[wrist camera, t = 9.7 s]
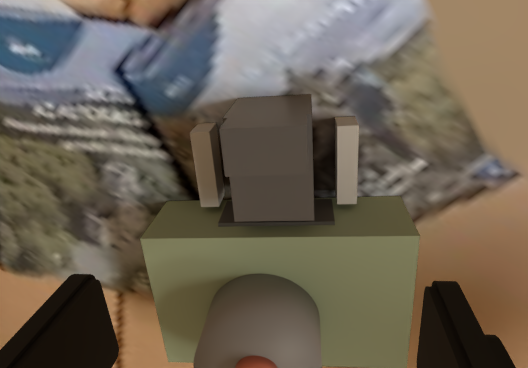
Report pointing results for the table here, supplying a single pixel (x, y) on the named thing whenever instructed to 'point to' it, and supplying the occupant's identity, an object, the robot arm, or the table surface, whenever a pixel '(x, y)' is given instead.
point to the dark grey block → (270, 158)
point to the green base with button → (283, 274)
